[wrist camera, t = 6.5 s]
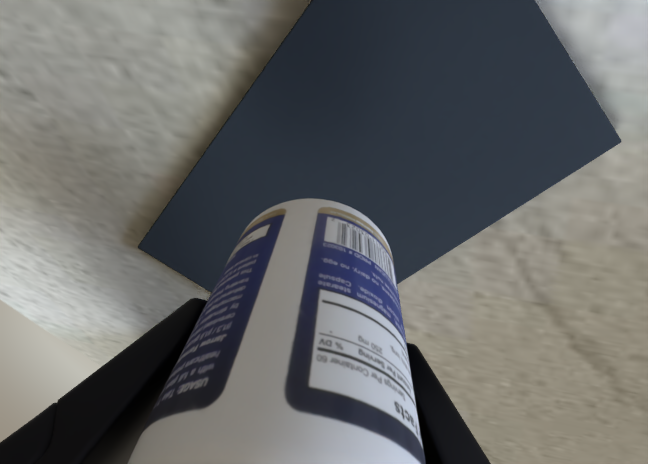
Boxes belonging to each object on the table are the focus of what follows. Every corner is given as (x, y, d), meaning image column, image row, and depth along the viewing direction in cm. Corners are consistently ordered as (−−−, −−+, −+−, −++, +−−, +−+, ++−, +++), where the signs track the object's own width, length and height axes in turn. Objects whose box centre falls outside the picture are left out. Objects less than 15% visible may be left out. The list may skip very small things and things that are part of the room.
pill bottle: (261, 313, 13) (113, 780, 5) (221, 199, 10) (-293, 906, 2) (393, 309, 12) (462, 855, 4) (392, 186, 9) (610, 1216, 1)
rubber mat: (300, 340, 22) (299, 346, 22) (141, 242, 18) (136, 247, 18) (614, 137, 13) (623, 141, 12) (427, -161, 9) (431, -169, 8)
